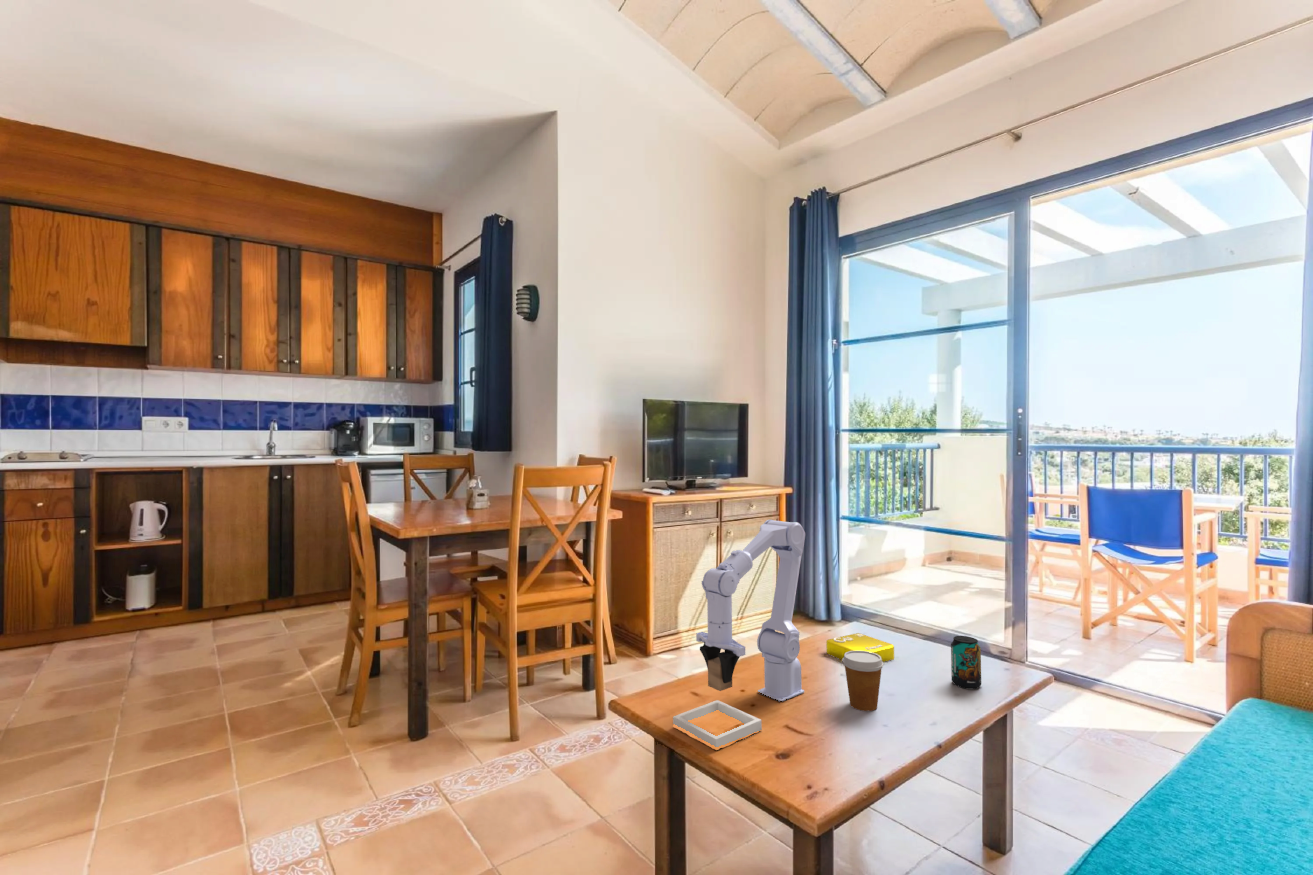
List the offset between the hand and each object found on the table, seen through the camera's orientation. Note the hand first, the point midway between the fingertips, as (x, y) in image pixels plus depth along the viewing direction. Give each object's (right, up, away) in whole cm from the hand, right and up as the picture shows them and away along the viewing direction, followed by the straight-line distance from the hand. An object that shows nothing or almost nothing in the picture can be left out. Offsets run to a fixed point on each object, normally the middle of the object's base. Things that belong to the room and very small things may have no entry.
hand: (720, 678), depth 142 cm
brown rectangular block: (0, -2, 0) cm, 2 cm away
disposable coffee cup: (+35, -9, +6) cm, 37 cm away
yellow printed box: (+46, -10, +41) cm, 63 cm away
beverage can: (+67, -9, +18) cm, 70 cm away
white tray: (-1, -9, -6) cm, 11 cm away
